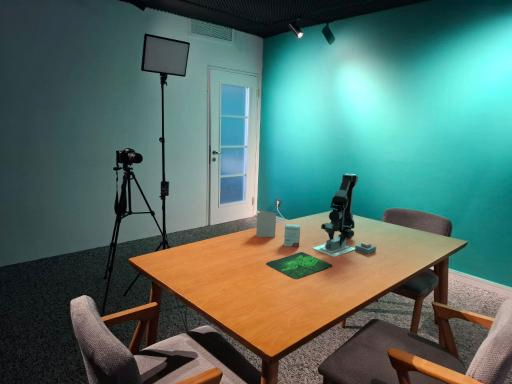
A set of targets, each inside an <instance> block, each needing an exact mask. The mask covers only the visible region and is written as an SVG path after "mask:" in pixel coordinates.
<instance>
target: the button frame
mask: <svg viewBox="0 0 512 384" xmlns="http://www.w3.org/2000/svg"><path fill="white" fill-rule="evenodd" d="M354 248H355V250H354V251H356V252H358V253H361V254H364V255H367V256H369V255H371V254H374V253H375V252H377V251H376V250H377V246H375V245H372V244H371V247H369V248H366V247H363V246H361V243H358V244H356V245H355V247H354Z"/></svg>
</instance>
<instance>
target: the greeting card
mask: <svg viewBox="0 0 512 384" xmlns="http://www.w3.org/2000/svg"><path fill="white" fill-rule="evenodd" d="M276 222H277V213H276V212H271V211H266V210H259V212H257V213H256V230H255V231H256V233H255V237H256V238H276V227H277V226H276V225H277V223H276Z"/></svg>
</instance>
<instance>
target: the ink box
mask: <svg viewBox="0 0 512 384" xmlns="http://www.w3.org/2000/svg"><path fill="white" fill-rule="evenodd" d="M300 234H301V225H300V224H288V223H287V224H284V235H283V236H284V237H283V238H284V239H283V246H284V247H293V248H294V247H295V248H299V247H300V237H301V235H300Z"/></svg>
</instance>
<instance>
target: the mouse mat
mask: <svg viewBox="0 0 512 384" xmlns="http://www.w3.org/2000/svg"><path fill="white" fill-rule="evenodd" d="M265 266H268V267H269V268H271V269H272V270H276V271H277V272H279V273H280V274H283V275H284V276H285V277H286V276H287V277H288V278H290V279H292V280H300V279H303V278H306V277H308V276H311V275H314V274H316V273H319V272H322V271H325V270H327V269H329V268H332V267H333V264H331V263H329V262H327V261H325V260H323V259H320V258H318V257H316V256H313V255H311V254H308V253H306V252H303V251H302V252H301V251H299V252H297V253H294V254H291V255H288V256H285V257H281V258H278V259H274V260H271V261H267V262H266V263H265Z"/></svg>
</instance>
